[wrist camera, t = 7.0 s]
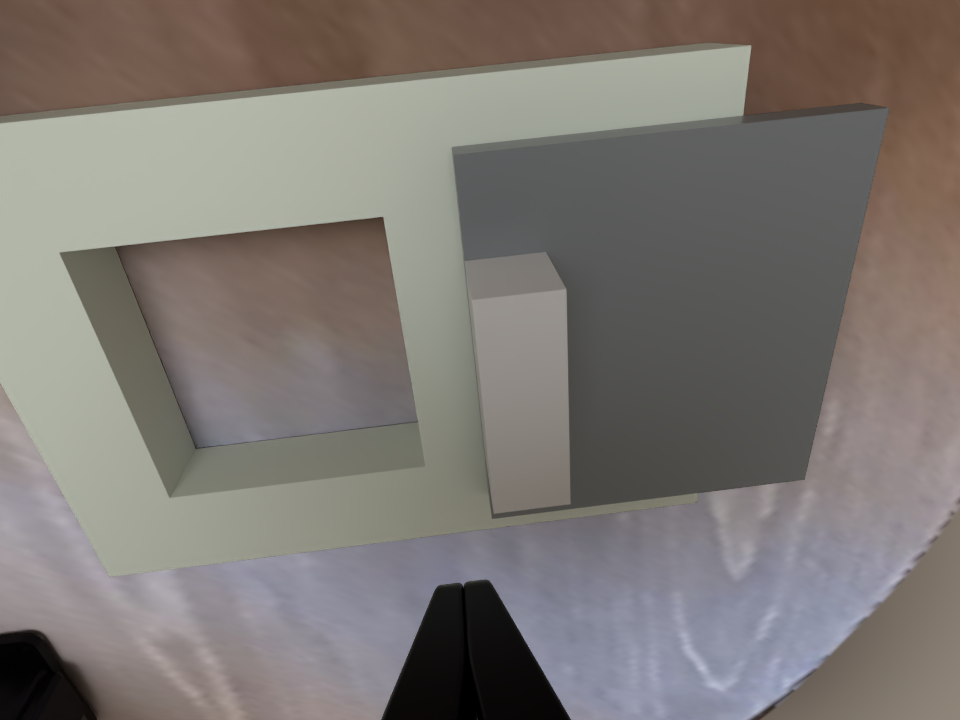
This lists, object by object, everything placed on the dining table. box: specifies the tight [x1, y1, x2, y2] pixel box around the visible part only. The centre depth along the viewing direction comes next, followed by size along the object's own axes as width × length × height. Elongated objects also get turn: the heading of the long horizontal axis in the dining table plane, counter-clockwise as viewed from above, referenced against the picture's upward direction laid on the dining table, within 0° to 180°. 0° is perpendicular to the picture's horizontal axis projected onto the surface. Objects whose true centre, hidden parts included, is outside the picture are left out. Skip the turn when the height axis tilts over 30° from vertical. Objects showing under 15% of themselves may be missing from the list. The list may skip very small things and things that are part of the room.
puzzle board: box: [0, 43, 751, 577], centre depth 18 cm, size 20×14×2 cm
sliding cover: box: [452, 103, 889, 519], centre depth 16 cm, size 10×11×3 cm
